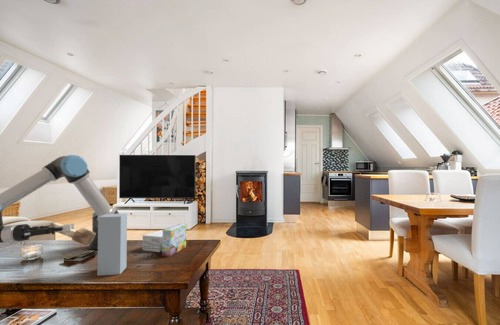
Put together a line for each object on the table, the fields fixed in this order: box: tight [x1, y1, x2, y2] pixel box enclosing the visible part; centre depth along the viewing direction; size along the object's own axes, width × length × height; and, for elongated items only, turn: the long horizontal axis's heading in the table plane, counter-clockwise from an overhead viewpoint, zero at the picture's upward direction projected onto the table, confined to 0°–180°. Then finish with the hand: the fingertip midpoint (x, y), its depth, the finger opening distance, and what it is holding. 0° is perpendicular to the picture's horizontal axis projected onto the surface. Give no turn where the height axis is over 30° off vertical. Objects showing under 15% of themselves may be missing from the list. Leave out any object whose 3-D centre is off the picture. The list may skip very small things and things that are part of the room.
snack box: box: [161, 223, 187, 258], centre depth 164 cm, size 21×6×15 cm, turn 168°
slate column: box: [96, 212, 128, 277], centre depth 132 cm, size 10×10×27 cm
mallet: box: [49, 221, 96, 246], centre depth 130 cm, size 19×7×4 cm, turn 99°
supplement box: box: [142, 229, 164, 253], centre depth 173 cm, size 17×13×9 cm
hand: (72, 227), depth 130 cm, fingers closed on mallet, 3 cm apart
